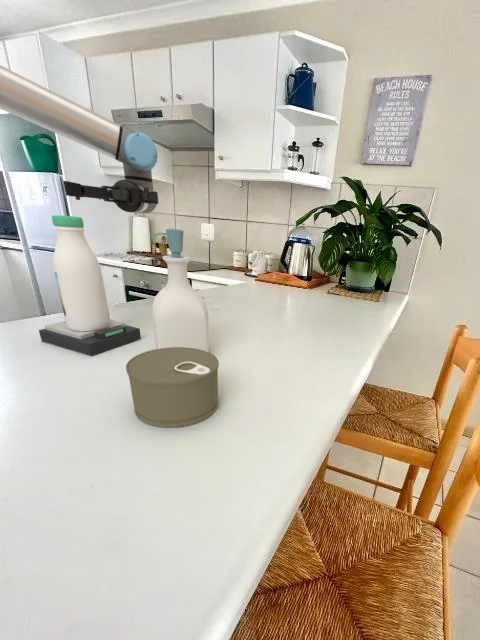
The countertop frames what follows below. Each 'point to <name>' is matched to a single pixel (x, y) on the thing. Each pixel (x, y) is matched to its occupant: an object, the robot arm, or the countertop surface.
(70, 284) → the milk bottle
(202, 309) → the soap bottle
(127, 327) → the kitchen scale
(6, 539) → the countertop surface
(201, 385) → the can
